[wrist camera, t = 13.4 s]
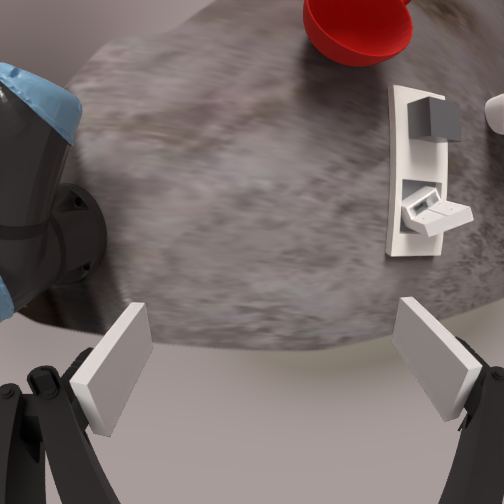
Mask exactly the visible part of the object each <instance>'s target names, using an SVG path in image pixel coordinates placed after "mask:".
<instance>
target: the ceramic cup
mask: <svg viewBox="0 0 504 504" xmlns="http://www.w3.org/2000/svg"><path fill="white" fill-rule="evenodd" d="M410 1H411V0H304V6H303V22H304V26H305V30H306V33H307V35H308V37H309V39H310V41H311V42H312V43H313V45H314V46H315V47H316V48H317V49H318V50H319V51H320V52H321V53H322V54H323V55H325V56H326V57H327V58H329V59H331V60H333V61H335V62H337V63H340V64H343V65H348V66H359V67H363V66H370V65H375V64H378V63H380V62H383V61H385V60H388V59H390V58H392V57H394V56H395V55H397V54H398V53H400V52H401V51H402V50H404V49H405V47H406V46H407V45H408V44H409V42H410V39H411V37H412V30H413V26H412V20H411V17H410V14H409V11H408V9H407V8H406V5H407V4H408V3H409V2H410Z"/></svg>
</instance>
